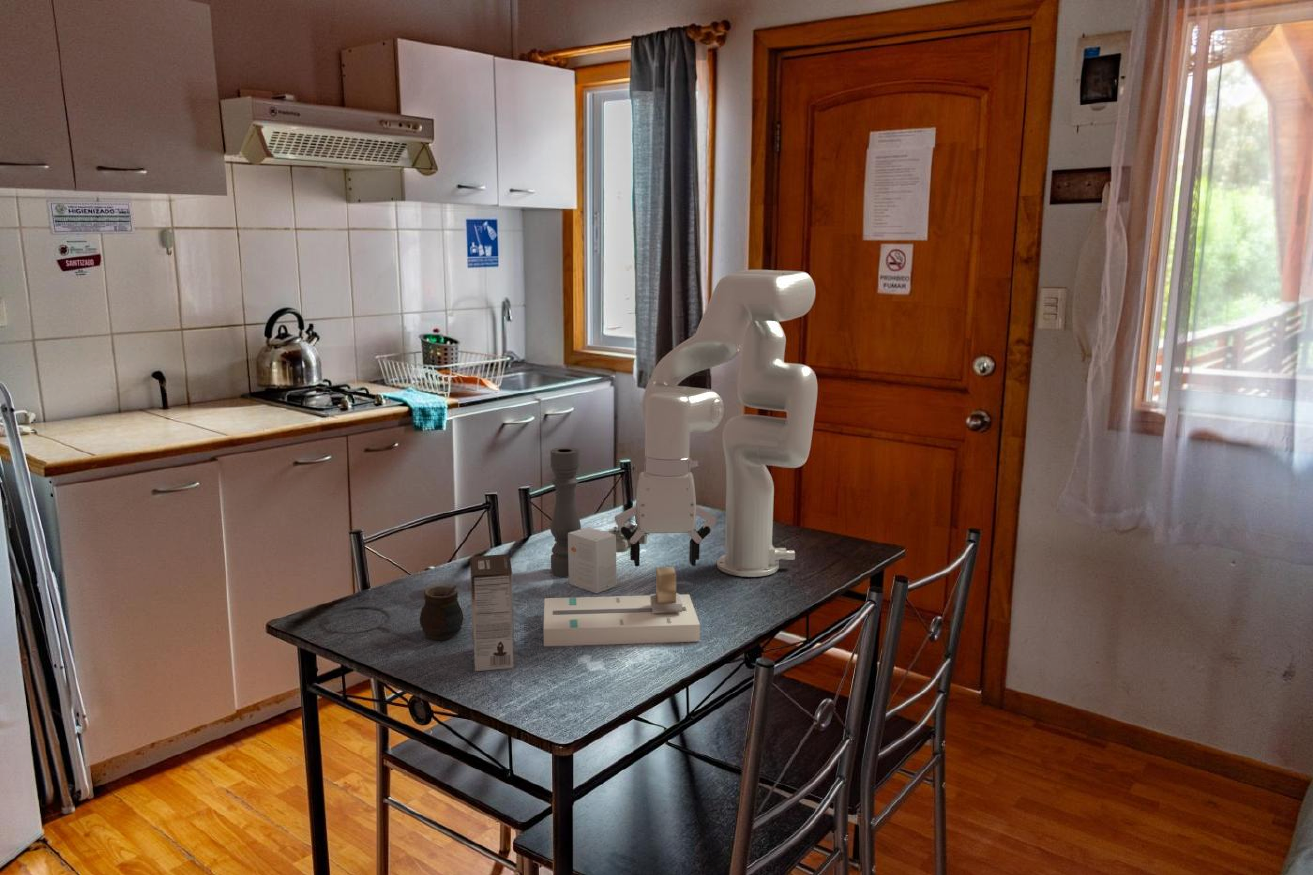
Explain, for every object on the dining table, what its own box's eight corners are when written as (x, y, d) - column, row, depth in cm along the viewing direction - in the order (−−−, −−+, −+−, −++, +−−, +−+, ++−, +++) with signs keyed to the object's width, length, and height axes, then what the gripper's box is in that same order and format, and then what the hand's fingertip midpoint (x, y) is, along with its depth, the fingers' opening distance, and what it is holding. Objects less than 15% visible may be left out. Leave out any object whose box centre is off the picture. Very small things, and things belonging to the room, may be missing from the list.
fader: (678, 601, 175) (678, 566, 174) (681, 612, 171) (682, 576, 169) (650, 602, 175) (650, 566, 174) (652, 612, 170) (653, 576, 169)
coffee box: (472, 648, 164) (469, 555, 160) (511, 645, 165) (509, 552, 162) (474, 672, 155) (471, 574, 152) (515, 669, 156) (513, 571, 153)
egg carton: (619, 555, 212) (619, 536, 211) (594, 547, 217) (594, 529, 216) (653, 543, 219) (653, 525, 219) (628, 536, 224) (628, 518, 223)
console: (688, 610, 181) (689, 593, 180) (699, 641, 167) (700, 624, 167) (544, 614, 178) (544, 597, 178) (543, 646, 165) (543, 628, 164)
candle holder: (583, 567, 203) (583, 447, 198) (578, 577, 197) (577, 454, 192) (554, 566, 203) (552, 446, 198) (547, 576, 197) (545, 453, 192)
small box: (617, 587, 192) (617, 534, 190) (596, 594, 188) (596, 541, 186) (588, 577, 197) (588, 526, 195) (567, 584, 193) (567, 532, 191)
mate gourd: (440, 623, 174) (439, 569, 172) (474, 633, 170) (473, 577, 168) (411, 637, 168) (409, 581, 166) (445, 647, 164) (444, 590, 162)
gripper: (714, 461, 172) (711, 556, 175) (614, 461, 170) (612, 557, 173) (721, 471, 165) (717, 570, 168) (616, 471, 163) (615, 571, 166)
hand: (664, 563), depth 171 cm, fingers open, 9 cm apart
